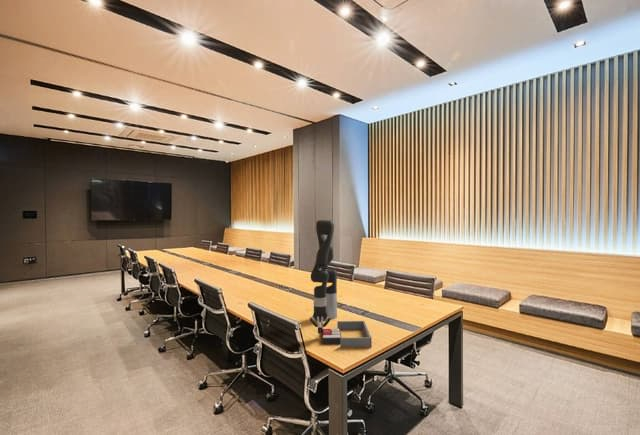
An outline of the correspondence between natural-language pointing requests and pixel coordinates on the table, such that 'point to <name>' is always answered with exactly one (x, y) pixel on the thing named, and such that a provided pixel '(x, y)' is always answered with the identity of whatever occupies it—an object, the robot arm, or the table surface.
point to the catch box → (354, 341)
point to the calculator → (331, 336)
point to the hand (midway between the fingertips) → (320, 333)
